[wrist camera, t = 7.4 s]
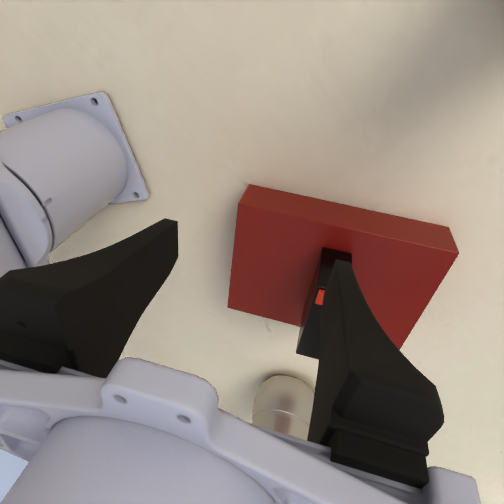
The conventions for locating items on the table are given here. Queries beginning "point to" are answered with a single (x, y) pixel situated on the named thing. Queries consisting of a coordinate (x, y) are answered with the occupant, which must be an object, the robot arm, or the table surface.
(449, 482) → the robot arm
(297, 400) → the metal water bottle
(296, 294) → the red rectangular block
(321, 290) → the block
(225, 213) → the table surface
